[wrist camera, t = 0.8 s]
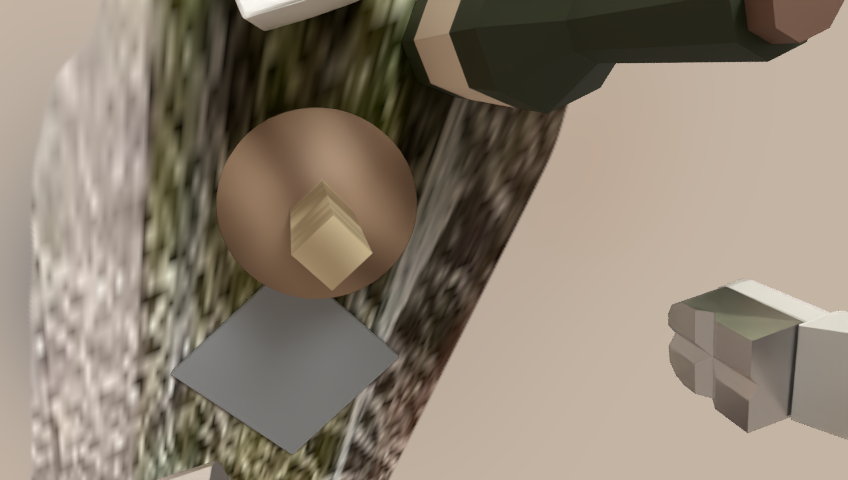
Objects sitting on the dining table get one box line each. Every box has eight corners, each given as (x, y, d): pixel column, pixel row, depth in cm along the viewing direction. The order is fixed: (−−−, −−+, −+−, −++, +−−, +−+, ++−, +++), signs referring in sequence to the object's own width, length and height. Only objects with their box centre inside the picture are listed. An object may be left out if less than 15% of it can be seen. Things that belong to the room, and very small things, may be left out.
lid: (322, 62, 33) (336, 61, 23) (449, 206, 38) (501, 250, 29) (172, 204, 33) (128, 257, 24) (319, 326, 38) (329, 407, 29)
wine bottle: (403, 98, 40) (647, 163, 13) (399, -17, 38) (700, -238, 10) (498, 94, 42) (887, 146, 15) (502, -15, 40) (986, -196, 12)
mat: (290, 260, 42) (290, 262, 42) (397, 354, 48) (399, 357, 47) (172, 370, 43) (170, 374, 42) (292, 450, 49) (292, 454, 48)
